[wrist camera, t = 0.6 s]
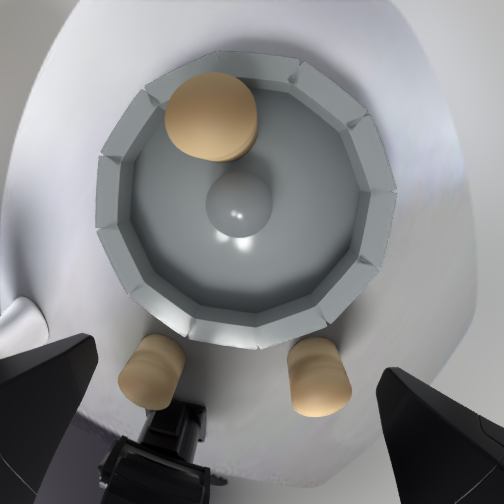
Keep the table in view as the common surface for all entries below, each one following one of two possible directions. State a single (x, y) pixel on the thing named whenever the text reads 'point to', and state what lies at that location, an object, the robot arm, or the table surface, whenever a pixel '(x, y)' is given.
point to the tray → (248, 208)
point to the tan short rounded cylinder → (212, 118)
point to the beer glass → (21, 328)
